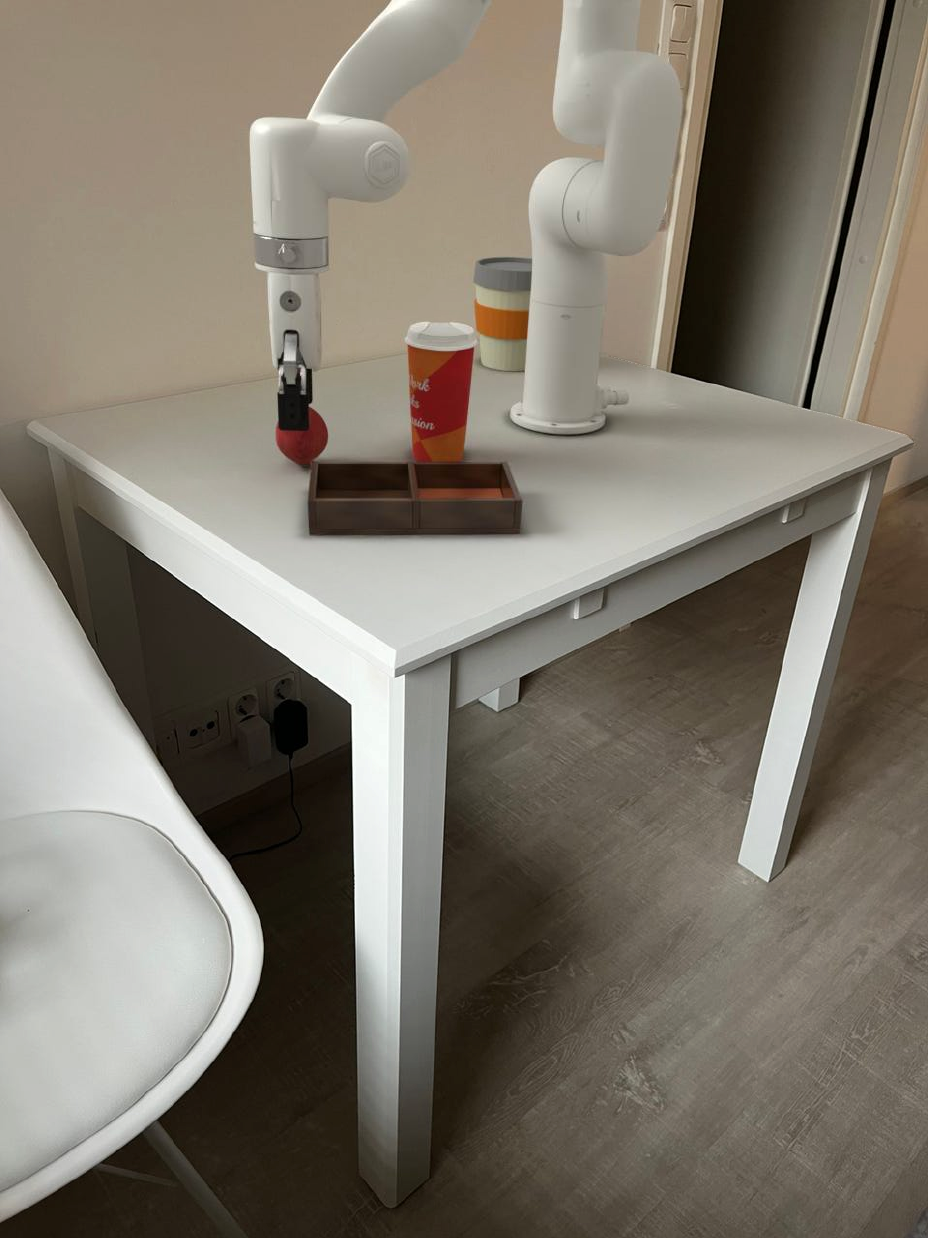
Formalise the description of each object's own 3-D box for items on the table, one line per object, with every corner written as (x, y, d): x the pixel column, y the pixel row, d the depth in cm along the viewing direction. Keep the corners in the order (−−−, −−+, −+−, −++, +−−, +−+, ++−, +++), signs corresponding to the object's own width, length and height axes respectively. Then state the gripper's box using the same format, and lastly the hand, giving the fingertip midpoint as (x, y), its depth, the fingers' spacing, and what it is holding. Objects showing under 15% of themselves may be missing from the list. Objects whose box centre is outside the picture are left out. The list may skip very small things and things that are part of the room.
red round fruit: (306, 479, 107) (302, 408, 103) (266, 467, 110) (262, 398, 106) (338, 464, 111) (337, 396, 107) (300, 453, 114) (297, 386, 110)
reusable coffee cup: (487, 349, 160) (492, 253, 153) (559, 359, 156) (568, 262, 148) (457, 366, 150) (460, 265, 142) (533, 378, 146) (541, 274, 138)
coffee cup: (402, 444, 118) (403, 318, 111) (469, 444, 119) (474, 320, 112) (404, 469, 111) (405, 336, 103) (475, 469, 112) (482, 338, 104)
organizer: (505, 492, 106) (507, 461, 104) (520, 533, 97) (522, 500, 95) (313, 492, 104) (311, 460, 102) (309, 535, 94) (307, 500, 93)
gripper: (326, 269, 92) (328, 442, 100) (330, 242, 107) (332, 394, 115) (246, 265, 91) (255, 440, 99) (261, 239, 106) (268, 392, 114)
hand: (296, 415), depth 107 cm, fingers open, 9 cm apart
